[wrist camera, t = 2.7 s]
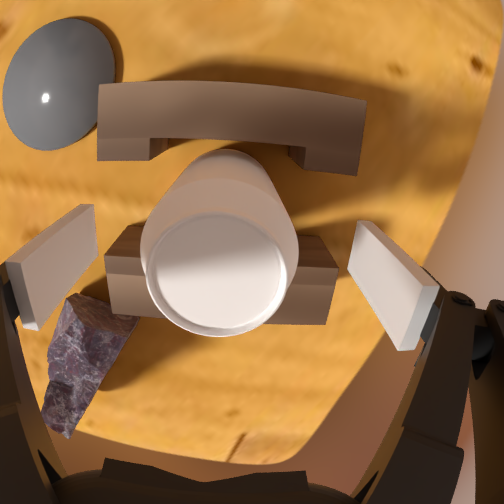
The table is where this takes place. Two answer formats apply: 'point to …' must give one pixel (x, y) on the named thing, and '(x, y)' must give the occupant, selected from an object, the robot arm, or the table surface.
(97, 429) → the table surface
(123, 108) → the notched wooden bars
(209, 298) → the beverage can
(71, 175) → the table surface
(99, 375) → the stone
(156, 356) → the table surface
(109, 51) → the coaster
